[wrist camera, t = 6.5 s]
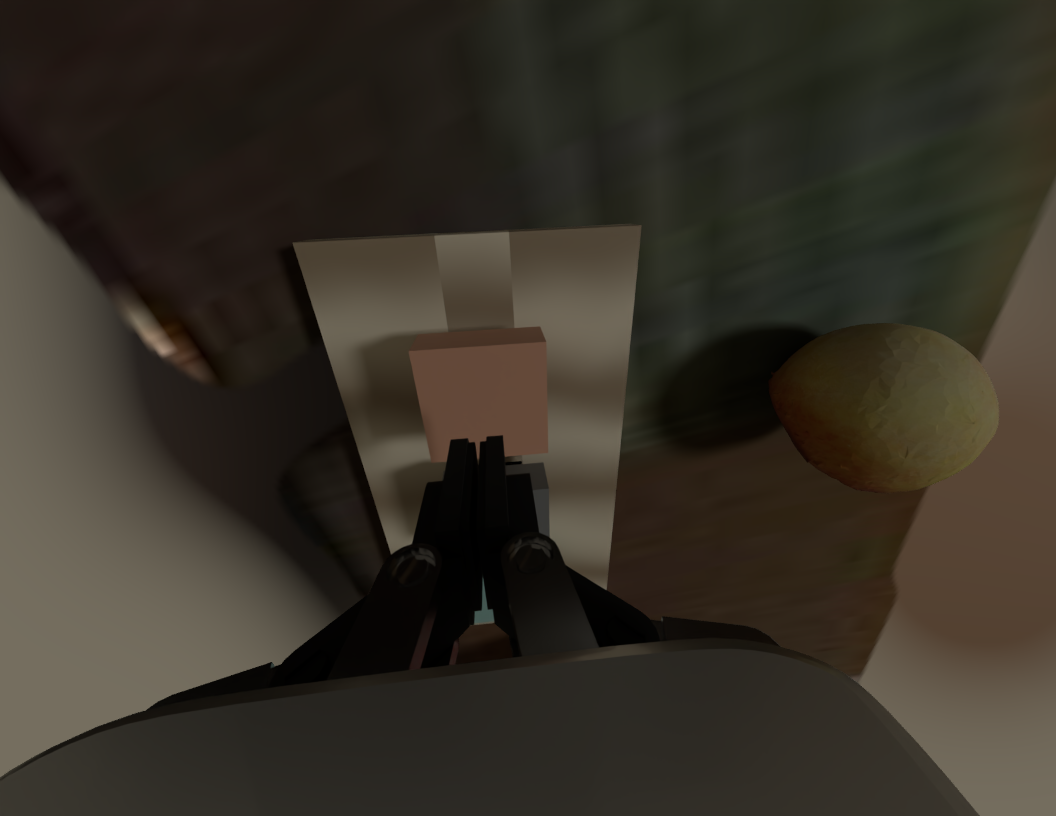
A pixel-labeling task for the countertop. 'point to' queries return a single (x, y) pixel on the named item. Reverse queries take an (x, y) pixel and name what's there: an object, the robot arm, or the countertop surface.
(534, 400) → the key terracotta
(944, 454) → the fruit
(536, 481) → the key charcoal
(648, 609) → the countertop surface
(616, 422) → the keypad board
